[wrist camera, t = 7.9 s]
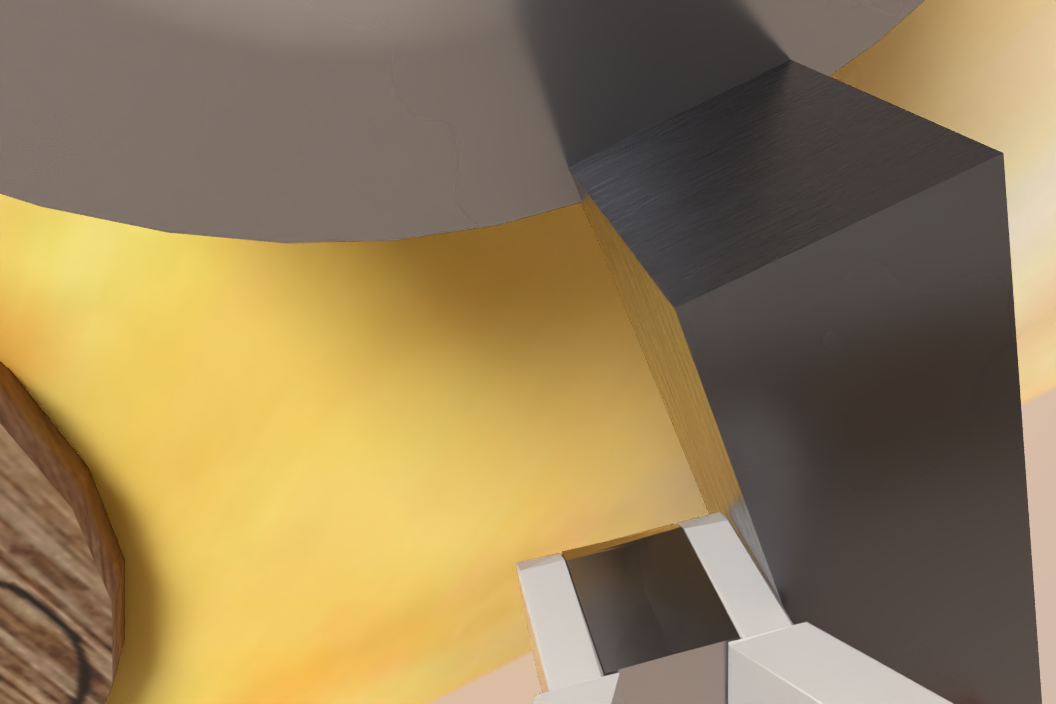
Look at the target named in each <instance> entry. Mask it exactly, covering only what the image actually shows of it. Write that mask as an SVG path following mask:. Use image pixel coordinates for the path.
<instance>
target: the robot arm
mask: <svg viewBox="0 0 1056 704" xmlns="http://www.w3.org/2000/svg"><path fill="white" fill-rule="evenodd" d="M516 569H517V575H518V580H519V585H520V590H521V595H522V600H523V606H524V611H525V616H526V621H527V626H528V631H529V636H530V641H531V645H532V650H533V655H534V659H535V664H536V669H537V674H538V678H539V682H540V686H541V690H542V693H540V694H536V695H535V697H534V699H533V702H532V704H953V703H952V702H950V701H948V700H946V699H945V698H943V697H941V696H939V695H937V694H936V693H934V692H932V691H930V690H928V689H927V688H925V687H923V686H921V685H920V684H918V683H916V682H914V681H912V680H911V679H909V678H907V677H905V676H904V675H902V674H900V673H898V672H896V671H895V670H893V669H891V668H889V667H887V666H886V665H884V664H882V663H880V662H879V661H877V660H875V659H873V658H871V657H870V656H868V655H866V654H864V653H863V652H861V651H859V650H857V649H855V648H854V647H852V646H850V645H848V644H846V643H845V642H843V641H841V640H839V639H838V638H836V637H834V636H832V635H830V634H829V633H827V632H825V631H823V630H822V629H820V628H818V627H816V626H814V625H813V624H811V623H809V622H803V623H799V624H793V623H792V621H791V619H790V618H789V616H788V615H787V613H786V611H785V610H784V608H783V607H782V605H781V603H780V602H779V600H778V598H777V597H776V595H775V594H774V592H773V590H772V589H771V587H770V585H769V584H768V582H767V581H766V579H765V577H764V576H763V574H762V573H761V571H760V569H759V568H758V566H757V564H756V563H755V561H754V560H753V558H752V556H751V555H750V553H749V551H748V550H747V548H746V547H745V545H744V543H743V542H742V540H741V538H740V537H739V535H738V534H737V532H736V530H735V529H734V527H733V526H732V524H731V522H730V521H729V519H728V517H726V516H725V515H723V514H722V513H720V512H717V513H714V514H710V515H706V516H702V517H698V518H694V519H690V520H687V521H683V522H679V523H677V524H670V525H666V526H663V527H659V528H655V529H651V530H648V531H644V532H640V533H636V534H632V535H629V536H625V537H621V538H617V539H613V540H610V541H606V542H602V543H597V544H593V545H589V546H584V547H580V548H575V549H571V550H566V551H562V553H561V554H560V553H557V554H552V555H548V556H544V557H539V558H535V559H530V560H526V561H521V562H517V563H516Z"/></svg>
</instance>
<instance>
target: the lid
mask: <svg viewBox="0 0 1056 704" xmlns="http://www.w3.org/2000/svg"><path fill="white" fill-rule="evenodd" d="M923 1H924V0H0V194H3V195H6V196H9V197H13V198H16V199H19V200H22V201H25V202H29V203H32V204H35V205H38V206H41V207H46V208H51V209H56V210H61V211H66V212H71V213H75V214H80V215H85V216H90V217H95V218H100V219H105V220H110V221H115V222H120V223H125V224H129V225H134V226H139V227H144V228H149V229H154V230H159V231H164V232H169V233H180V234H191V235H202V236H213V237H224V238H235V239H246V240H257V241H268V242H279V243H306V242H345V241H384V240H400V239H406V238H413V237H420V236H427V235H434V234H440V233H447V232H454V231H461V230H468V229H474V228H481V227H488V226H495V225H500V224H504V223H507V222H511V221H515V220H518V219H522V218H526V217H529V216H533V215H536V214H540V213H544V212H547V211H551V210H555V209H558V208H562V207H566V206H569V205H573V204H576V203H580V202H583V205H584V207H585V210H586V212H587V215H588V217H589V220H590V222H591V225H592V227H593V229H594V232H595V234H596V237H597V239H598V242H599V244H600V247H601V249H602V252H603V254H604V256H605V259H606V261H607V264H608V266H609V269H610V271H611V274H612V276H613V279H614V281H615V284H616V286H617V288H618V291H619V293H620V296H621V298H622V301H623V303H624V306H625V308H626V311H627V313H628V315H629V318H630V320H631V323H632V325H633V328H634V330H635V333H636V335H637V338H638V340H639V342H640V345H641V347H642V350H643V352H644V355H645V357H646V360H647V362H648V365H649V367H650V369H651V372H652V374H653V377H654V379H655V382H656V384H657V387H658V389H659V392H660V394H661V396H662V399H663V401H664V404H665V406H666V409H667V411H668V414H669V416H670V419H671V421H672V423H673V426H674V428H675V431H676V433H677V436H678V438H679V441H680V443H681V446H682V448H683V450H684V453H685V455H686V458H687V460H688V463H689V465H690V468H691V470H692V473H693V475H694V478H695V480H696V482H697V485H698V487H699V490H700V492H701V495H702V497H703V500H704V502H705V505H706V507H707V509H708V512H709V514H714V513H717V512H720V513H722V514H723V515H725V516H726V517H728V519H729V521H730V522H731V524H732V526H733V527H734V529H735V530H736V532H737V534H738V535H739V537H740V538H741V540H742V542H743V543H744V545H745V547H746V548H747V550H748V551H749V553H750V555H751V556H752V558H753V560H754V561H755V563H756V564H757V566H758V568H759V569H760V571H761V573H762V574H763V576H764V577H765V579H766V581H767V582H768V584H769V585H770V587H771V589H772V590H773V592H774V594H775V595H776V597H777V598H778V600H779V602H780V603H781V605H782V607H783V608H784V610H785V611H786V613H787V615H788V616H789V618H790V619H791V621H792V623H793V624H799V623H803V622H809V623H811V624H813V625H814V626H816V627H818V628H820V629H822V630H823V631H825V632H827V633H829V634H830V635H832V636H834V637H836V638H838V639H839V640H841V641H843V642H845V643H846V644H848V645H850V646H852V647H854V648H855V649H857V650H859V651H861V652H863V653H864V654H866V655H868V656H870V657H871V658H873V659H875V660H877V661H879V662H880V663H882V664H884V665H886V666H887V667H889V668H891V669H893V670H895V671H896V672H898V673H900V674H902V675H904V676H905V677H907V678H909V679H911V680H912V681H914V682H916V683H918V684H920V685H921V686H923V687H925V688H927V689H928V690H930V691H932V692H934V693H936V694H937V695H939V696H941V697H943V698H945V699H946V700H948V701H950V702H952V703H953V704H1042V698H1041V683H1040V670H1039V655H1038V641H1037V626H1036V612H1035V598H1034V585H1033V571H1032V555H1031V543H1030V542H1031V541H1030V527H1029V513H1028V498H1027V484H1026V470H1025V456H1024V442H1023V427H1022V413H1021V399H1020V384H1019V370H1018V356H1017V342H1016V328H1015V313H1014V299H1013V285H1012V271H1011V256H1010V242H1009V228H1008V214H1007V199H1006V185H1005V171H1004V157H1003V153H1002V152H1000V151H997V150H995V149H993V148H990V147H988V146H986V145H984V144H981V143H979V142H977V141H975V140H972V139H970V138H968V137H965V136H963V135H961V134H959V133H956V132H954V131H952V130H950V129H947V128H945V127H943V126H940V125H938V124H936V123H934V122H931V121H929V120H927V119H925V118H922V117H920V116H918V115H915V114H913V113H911V112H909V111H906V110H904V109H902V108H900V107H897V106H895V105H893V104H890V103H888V102H886V101H884V100H881V99H879V98H877V97H875V96H872V95H870V94H868V93H865V92H863V91H861V90H859V89H856V88H854V87H852V86H850V85H847V84H845V83H843V82H840V81H838V80H836V79H834V78H831V77H829V76H830V75H831V74H833V73H834V72H836V71H837V70H838V69H840V68H841V67H843V66H844V65H845V64H847V63H848V62H850V61H851V60H853V59H854V58H855V57H857V56H858V55H860V54H861V53H862V52H864V51H865V50H867V49H868V48H869V47H871V46H872V45H874V44H875V43H876V42H878V41H879V40H880V39H881V38H882V37H883V36H884V35H886V34H887V33H888V32H889V31H890V30H891V29H892V28H893V27H895V26H896V25H897V24H898V23H899V22H900V21H901V20H903V19H904V18H905V17H906V16H907V15H908V14H909V13H910V12H912V11H913V10H914V9H915V8H916V7H917V6H918V5H920V4H921V3H922V2H923Z"/></svg>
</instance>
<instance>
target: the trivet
mask: <svg viewBox="0 0 1056 704" xmlns="http://www.w3.org/2000/svg"><path fill="white" fill-rule="evenodd" d="M124 641H125V559H124V556H123V554H122V551H121V549H120V546H119V544H118V541H117V539H116V536H115V534H114V531H113V528H112V526H111V523H110V521H109V518H108V516H107V513H106V511H105V508H104V506H103V503H102V501H101V498H100V495H99V493H98V490H97V488H96V485H95V483H94V480H93V478H92V475H91V473H90V470H89V468H88V467H87V465H86V464H85V463H84V462H83V460H82V459H81V458H80V457H79V455H78V454H77V453H76V452H75V450H74V449H73V448H72V447H71V445H70V444H69V443H68V442H67V440H66V439H65V438H64V437H63V435H62V434H61V433H60V432H59V430H58V429H57V428H56V427H55V425H54V424H53V423H52V422H51V420H50V419H49V418H48V417H47V415H46V414H45V413H44V412H43V410H42V409H41V408H40V407H39V405H38V404H37V403H36V402H35V400H34V399H33V398H32V397H31V395H30V394H29V393H28V392H27V390H26V389H25V388H24V387H23V385H22V384H21V383H20V382H19V380H18V379H17V378H16V377H15V375H14V374H13V373H12V372H11V370H10V369H9V368H8V367H6V366H5V365H4V364H2V363H1V362H0V704H104V703H105V701H106V699H107V696H108V694H109V692H110V689H111V687H112V685H113V681H114V677H115V674H116V670H117V666H118V663H119V659H120V655H121V652H122V648H123V644H124Z"/></svg>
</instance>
